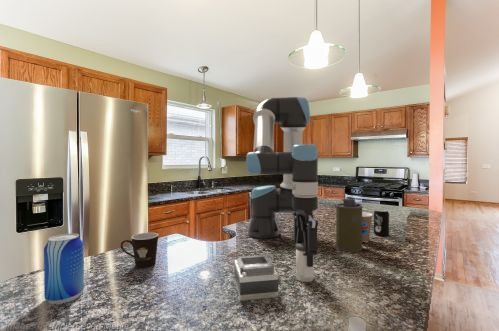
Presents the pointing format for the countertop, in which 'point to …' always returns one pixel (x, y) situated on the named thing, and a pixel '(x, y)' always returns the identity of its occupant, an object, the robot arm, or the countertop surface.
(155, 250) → the coffee mug
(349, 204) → the canister
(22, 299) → the countertop surface
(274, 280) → the grey square holder base
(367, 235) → the coffee cup
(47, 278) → the beer can
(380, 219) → the beverage can
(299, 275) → the beige and black cylinder
